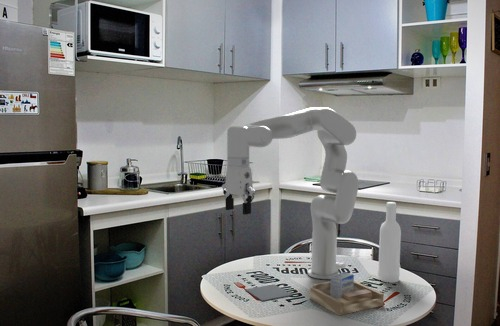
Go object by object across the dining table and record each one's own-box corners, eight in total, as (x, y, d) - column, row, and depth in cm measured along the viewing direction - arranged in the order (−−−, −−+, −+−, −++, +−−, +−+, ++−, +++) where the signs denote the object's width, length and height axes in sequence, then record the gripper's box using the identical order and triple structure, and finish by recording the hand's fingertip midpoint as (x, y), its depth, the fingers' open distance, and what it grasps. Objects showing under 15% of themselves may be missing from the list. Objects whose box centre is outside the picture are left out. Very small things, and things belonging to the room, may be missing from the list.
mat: (274, 285, 186) (274, 284, 186) (292, 295, 175) (292, 294, 175) (245, 290, 180) (245, 289, 180) (262, 301, 170) (262, 300, 170)
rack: (352, 290, 181) (352, 277, 181) (383, 305, 167) (383, 290, 167) (310, 299, 172) (310, 284, 172) (339, 315, 159) (339, 300, 158)
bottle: (391, 284, 189) (394, 205, 186) (373, 279, 194) (376, 202, 192) (403, 280, 194) (406, 203, 191) (385, 274, 200) (388, 200, 197)
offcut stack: (367, 301, 171) (368, 288, 170) (375, 305, 168) (375, 291, 167) (334, 308, 164) (335, 295, 164) (341, 312, 161) (342, 298, 160)
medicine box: (340, 305, 168) (341, 279, 167) (329, 301, 171) (330, 276, 170) (353, 298, 173) (354, 274, 172) (342, 295, 176) (343, 271, 175)
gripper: (263, 163, 168) (262, 214, 170) (231, 160, 181) (231, 206, 183) (245, 165, 163) (245, 217, 165) (214, 161, 177) (214, 209, 178)
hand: (238, 211), depth 174 cm, fingers open, 9 cm apart
